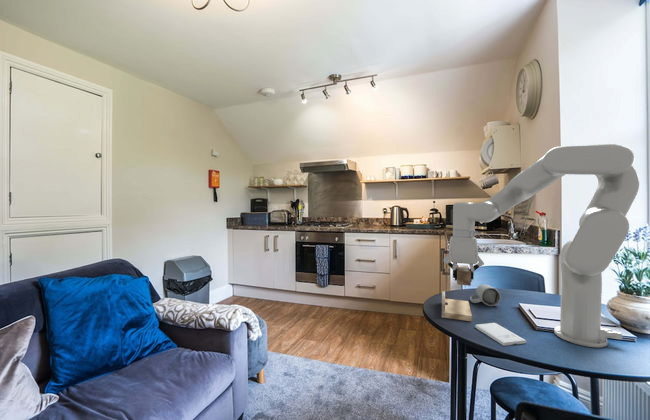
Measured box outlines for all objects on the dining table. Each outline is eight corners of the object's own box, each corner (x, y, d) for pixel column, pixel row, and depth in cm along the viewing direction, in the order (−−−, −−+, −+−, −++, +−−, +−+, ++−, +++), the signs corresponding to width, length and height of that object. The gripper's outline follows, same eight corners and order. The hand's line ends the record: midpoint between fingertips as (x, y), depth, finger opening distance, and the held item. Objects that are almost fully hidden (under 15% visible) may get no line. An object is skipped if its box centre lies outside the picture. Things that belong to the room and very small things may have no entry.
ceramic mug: (492, 299, 124) (491, 282, 124) (501, 306, 116) (501, 288, 116) (466, 299, 125) (466, 282, 125) (474, 306, 117) (473, 287, 117)
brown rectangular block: (467, 277, 114) (467, 265, 113) (470, 285, 103) (470, 271, 103) (455, 276, 115) (456, 264, 115) (457, 284, 105) (457, 270, 105)
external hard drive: (495, 327, 99) (526, 344, 87) (475, 329, 98) (503, 347, 85) (495, 322, 99) (526, 339, 87) (475, 324, 97) (503, 342, 85)
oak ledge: (468, 305, 117) (468, 294, 117) (471, 321, 102) (471, 308, 102) (441, 302, 121) (442, 291, 121) (441, 317, 106) (441, 304, 106)
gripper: (487, 233, 109) (486, 280, 109) (440, 232, 115) (439, 275, 116) (489, 236, 102) (489, 285, 102) (439, 234, 108) (439, 280, 109)
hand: (462, 279), depth 109 cm, fingers closed on brown rectangular block, 4 cm apart
